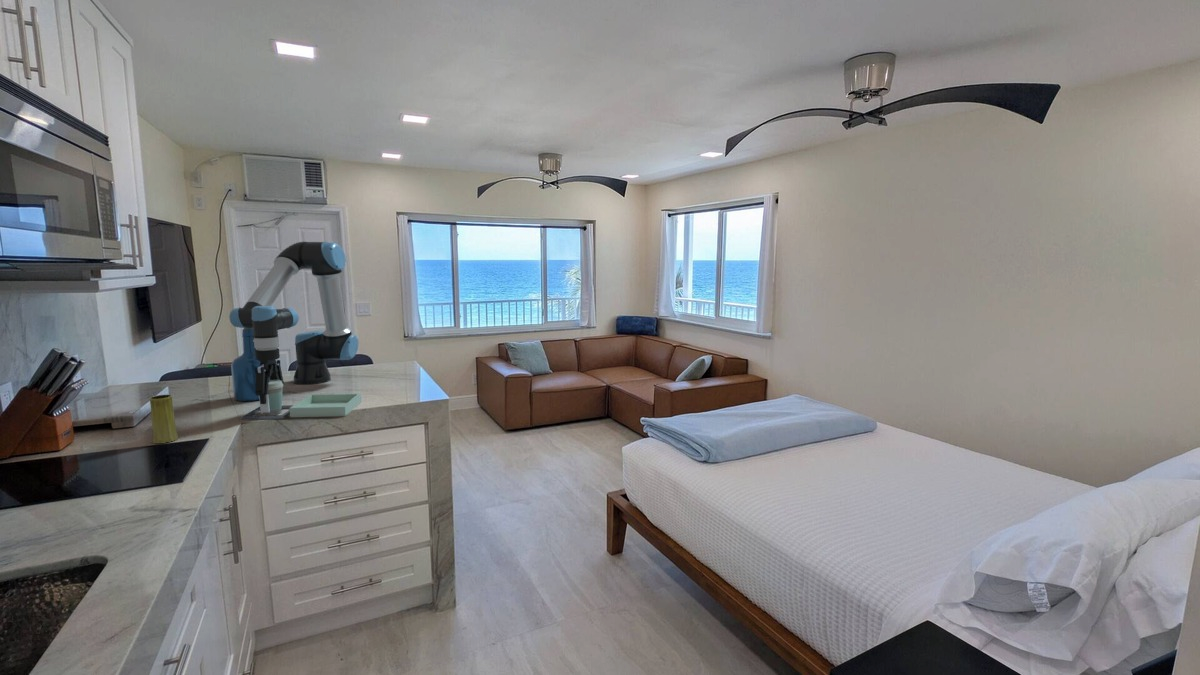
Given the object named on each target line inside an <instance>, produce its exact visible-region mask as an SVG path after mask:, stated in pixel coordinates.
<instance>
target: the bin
mask: <svg viewBox="0 0 1200 675" xmlns="http://www.w3.org/2000/svg"><path fill="white" fill-rule="evenodd" d="M360 402H361V403H362V393H359V392H358V393H313V394H312V393H311V394H309V395H307V396H306V397H304V398H303V399H301V400H300V401H298V402H296V403H295V404H292V405H293V406H292V407H290V409H289V410H290V415H289V417H290V418H317V417H318V418H320V417H321V418H323V417H325V418H326V417H347V415H349V414H350V413H351V412H352V411H353V410H354V409H355V408H356V407H357V406H359V405H360V404H361V403H360ZM359 403H360V404H359Z"/></svg>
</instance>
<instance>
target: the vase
mask: <svg viewBox="0 0 1200 675" xmlns="http://www.w3.org/2000/svg"><path fill="white" fill-rule="evenodd" d="M149 402H150V415H151V427H152V429H151V430H152V436H153V439H152V443H153V444H155V443H163V444H167V443H166V442H169V443H172V442H171V441H173V442H175V441H177V440H179V437H178V432H177V431H178V430H177V425H176V419H175V411H174V404H173V395H172V394H159V395H153V396H150V398H149ZM174 440H175V441H174Z"/></svg>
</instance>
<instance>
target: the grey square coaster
mask: <svg viewBox="0 0 1200 675" xmlns="http://www.w3.org/2000/svg"><path fill="white" fill-rule="evenodd" d="M293 405H294V404H289V405H286V404H282V409H281V410H284V409H285V410H286V409H288V410H287V411H285V412H284V413H281V414H277V415H255V414H257V413H259V412H261V410H260V406H258V407H256V408H255V409H253V410H251V411H250V412H248V413H246V414H245V415H242V416H241V420H245V421H246V420H249V421H251V420H284V419H286V418H287V417H288V416H289V417H290V407H292V406H293Z"/></svg>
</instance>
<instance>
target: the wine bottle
mask: <svg viewBox="0 0 1200 675" xmlns="http://www.w3.org/2000/svg"><path fill="white" fill-rule="evenodd" d="M241 331H242V332H241V337H242V348H243V351H242V352H243V353H242V354H241V355H239V356H238V357H235V358H234V359H233V360H232V362H231V364H230V367H231V369H230V371H231V377H232V378H231V380H232V389H233V398H234V399H235V400H236V401H239V402H255V401H260V400H259V395H256V394H255V387H256V371H255V368H256V367H260V361H259V360H256V359H255V350H256V349H255V347H254V342H253V340H254V333H253V328H242V330H241ZM269 380H271V379H270V377H269Z"/></svg>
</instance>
